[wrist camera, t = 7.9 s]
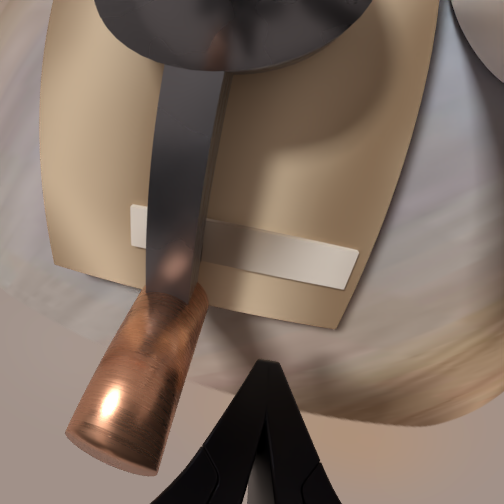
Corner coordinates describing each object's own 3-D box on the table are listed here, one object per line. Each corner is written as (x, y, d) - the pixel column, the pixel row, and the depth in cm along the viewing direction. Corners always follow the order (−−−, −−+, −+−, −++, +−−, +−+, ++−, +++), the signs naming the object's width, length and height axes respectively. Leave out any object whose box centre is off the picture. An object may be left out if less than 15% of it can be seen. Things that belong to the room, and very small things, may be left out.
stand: (426, -46, 5) (445, -61, 3) (332, 306, 13) (336, 334, 12) (100, -74, 5) (78, -86, 3) (70, 248, 13) (51, 267, 12)
